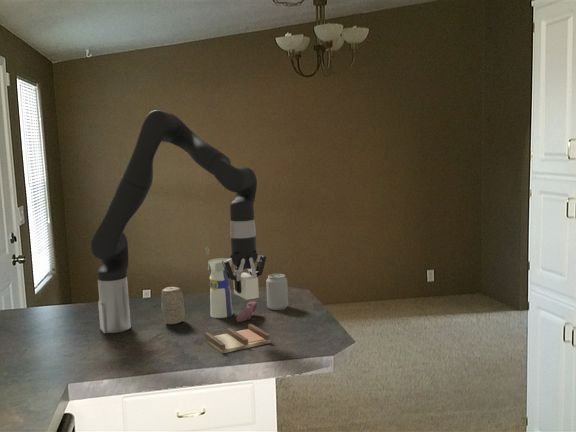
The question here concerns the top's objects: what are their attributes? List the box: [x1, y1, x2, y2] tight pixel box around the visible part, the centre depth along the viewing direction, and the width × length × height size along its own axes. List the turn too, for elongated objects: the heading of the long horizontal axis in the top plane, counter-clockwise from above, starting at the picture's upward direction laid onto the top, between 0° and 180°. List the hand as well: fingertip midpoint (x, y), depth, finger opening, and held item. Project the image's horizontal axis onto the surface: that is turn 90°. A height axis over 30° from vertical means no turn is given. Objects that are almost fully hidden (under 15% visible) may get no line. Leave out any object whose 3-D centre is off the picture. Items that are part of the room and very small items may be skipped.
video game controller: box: [236, 300, 259, 323], centre depth 200 cm, size 10×5×7 cm, turn 169°
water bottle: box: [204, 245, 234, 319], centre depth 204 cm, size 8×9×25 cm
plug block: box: [232, 272, 260, 301], centre depth 177 cm, size 9×4×6 cm, turn 29°
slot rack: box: [204, 323, 271, 354], centre depth 177 cm, size 16×13×2 cm
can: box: [265, 273, 289, 311], centre depth 211 cm, size 8×8×12 cm
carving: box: [160, 286, 186, 325], centre depth 198 cm, size 6×8×12 cm
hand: (245, 291), depth 177 cm, fingers closed on plug block, 4 cm apart
